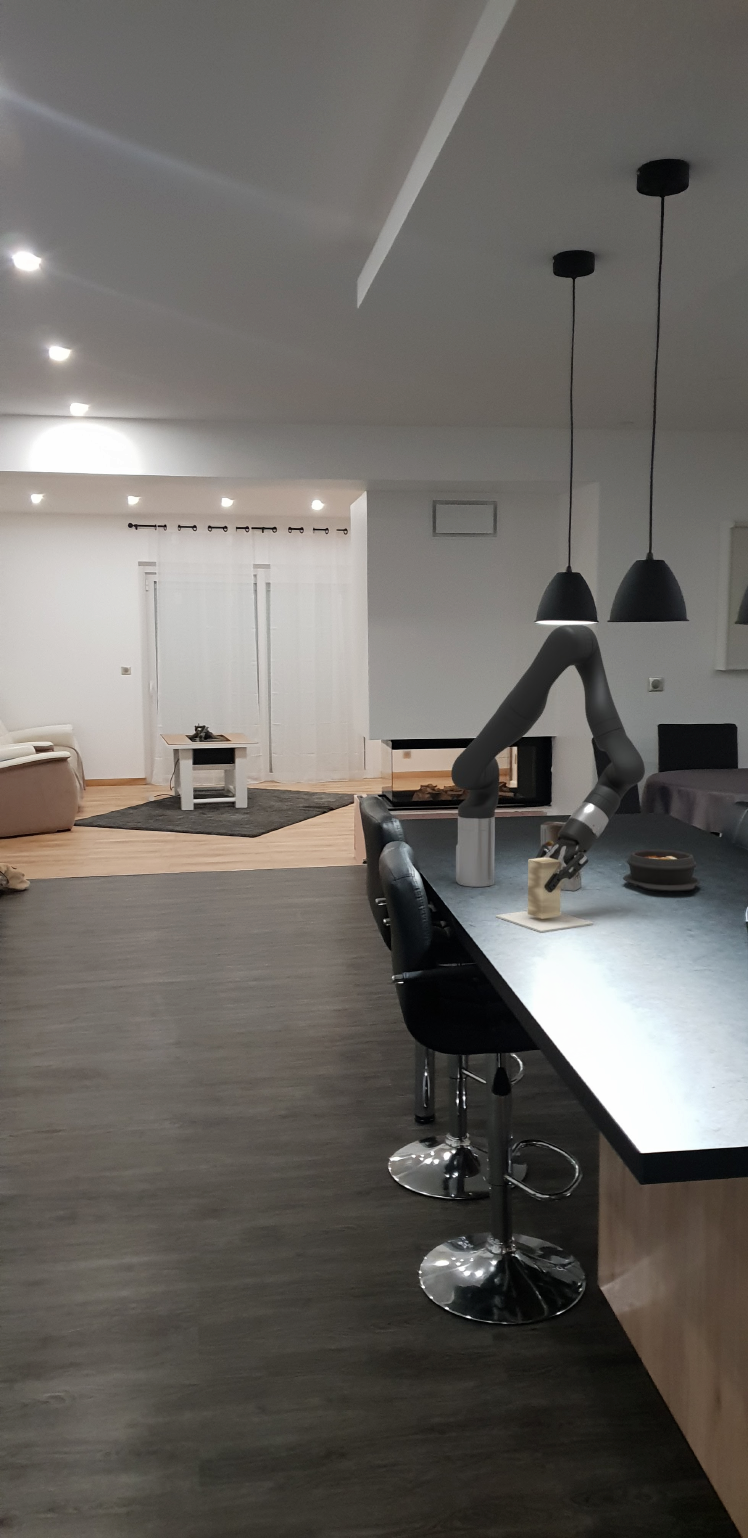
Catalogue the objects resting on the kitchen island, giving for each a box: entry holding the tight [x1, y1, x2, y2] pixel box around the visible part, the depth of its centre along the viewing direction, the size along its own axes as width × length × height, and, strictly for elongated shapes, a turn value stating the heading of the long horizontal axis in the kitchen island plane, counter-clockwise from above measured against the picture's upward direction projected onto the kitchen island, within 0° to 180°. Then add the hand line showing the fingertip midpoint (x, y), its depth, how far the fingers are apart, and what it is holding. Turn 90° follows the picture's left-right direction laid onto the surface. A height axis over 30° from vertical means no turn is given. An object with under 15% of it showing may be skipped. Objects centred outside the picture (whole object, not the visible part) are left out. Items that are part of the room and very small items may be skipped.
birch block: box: [527, 857, 562, 919], centre depth 229 cm, size 5×5×12 cm
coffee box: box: [540, 820, 583, 891], centre depth 264 cm, size 9×6×16 cm
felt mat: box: [495, 910, 594, 934], centre depth 230 cm, size 16×14×1 cm
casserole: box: [622, 849, 701, 892], centre depth 265 cm, size 25×19×8 cm
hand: (539, 887), depth 228 cm, fingers closed on birch block, 5 cm apart
